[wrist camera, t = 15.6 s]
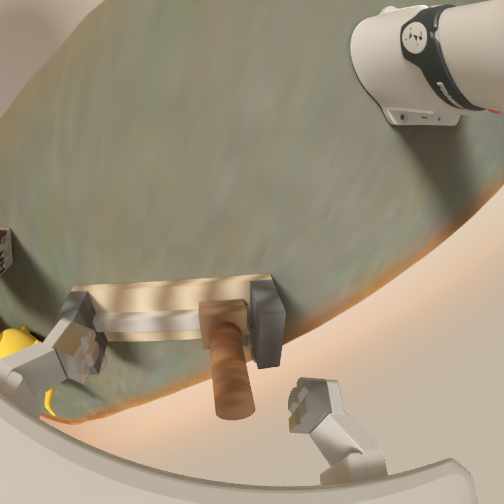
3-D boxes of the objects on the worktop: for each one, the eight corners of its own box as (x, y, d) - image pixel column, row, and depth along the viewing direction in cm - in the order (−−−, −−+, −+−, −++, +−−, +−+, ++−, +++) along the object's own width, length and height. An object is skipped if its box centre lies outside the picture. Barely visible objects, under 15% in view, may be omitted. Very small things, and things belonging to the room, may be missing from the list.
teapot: (86, 362, 41) (73, 411, 31) (55, 380, 43) (43, 421, 33) (9, 290, 32) (-22, 333, 22) (-11, 321, 33) (-34, 359, 23)
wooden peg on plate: (242, 295, 37) (266, 393, 23) (243, 327, 40) (263, 420, 26) (198, 298, 36) (202, 400, 22) (202, 330, 39) (209, 425, 25)
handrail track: (273, 272, 38) (290, 312, 31) (269, 328, 43) (282, 368, 36) (71, 285, 34) (50, 323, 26) (93, 337, 39) (80, 375, 31)
